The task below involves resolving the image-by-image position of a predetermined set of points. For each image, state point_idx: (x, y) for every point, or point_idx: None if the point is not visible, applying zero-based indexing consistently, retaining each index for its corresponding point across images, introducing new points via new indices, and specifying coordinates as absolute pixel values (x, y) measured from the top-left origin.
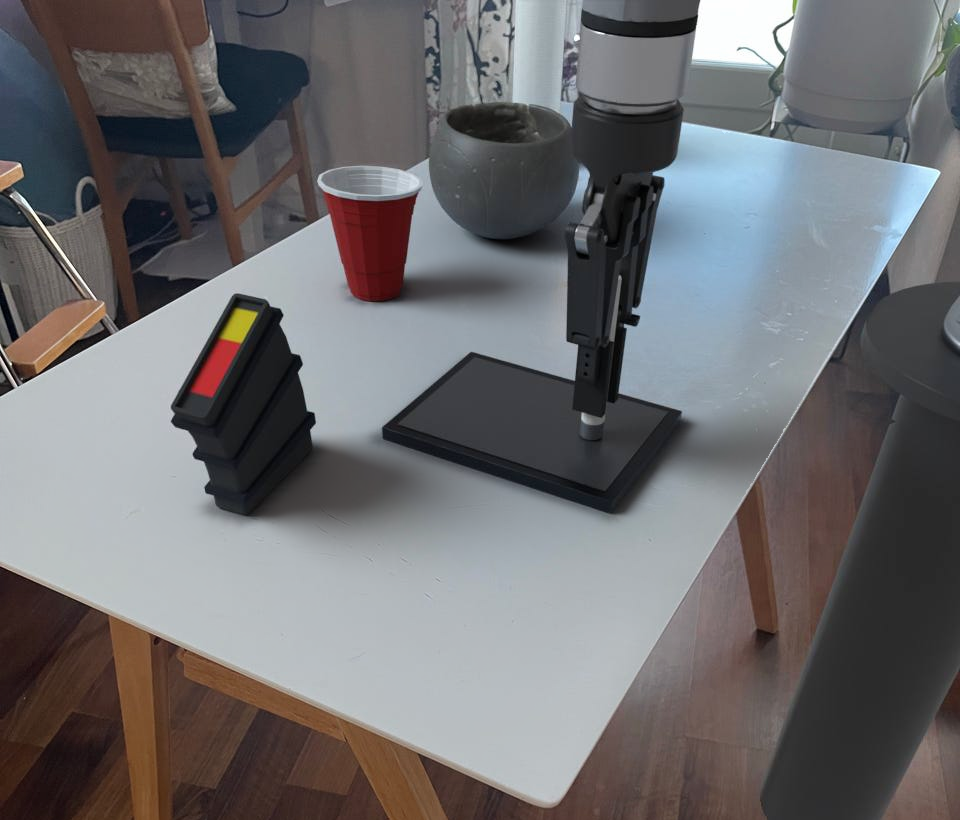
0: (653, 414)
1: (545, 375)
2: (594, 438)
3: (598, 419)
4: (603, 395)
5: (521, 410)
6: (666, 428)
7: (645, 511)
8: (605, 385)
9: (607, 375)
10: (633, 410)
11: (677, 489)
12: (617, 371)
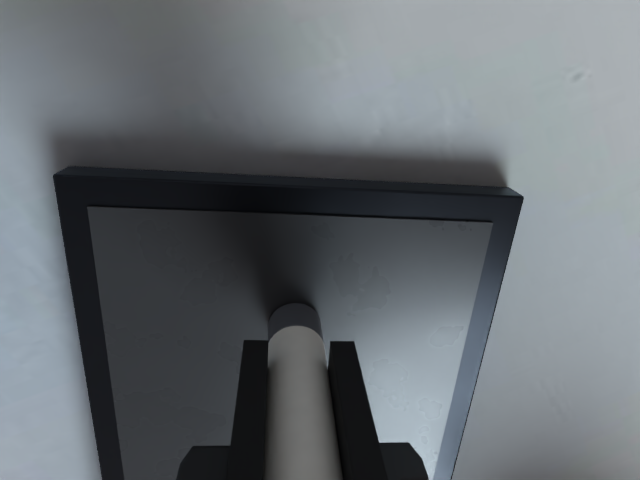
0: (124, 235)
1: (114, 476)
2: (316, 314)
3: (316, 341)
4: (365, 389)
5: None
6: (164, 184)
7: (476, 121)
8: (369, 412)
9: (370, 437)
10: (136, 282)
11: (363, 78)
12: (264, 414)
